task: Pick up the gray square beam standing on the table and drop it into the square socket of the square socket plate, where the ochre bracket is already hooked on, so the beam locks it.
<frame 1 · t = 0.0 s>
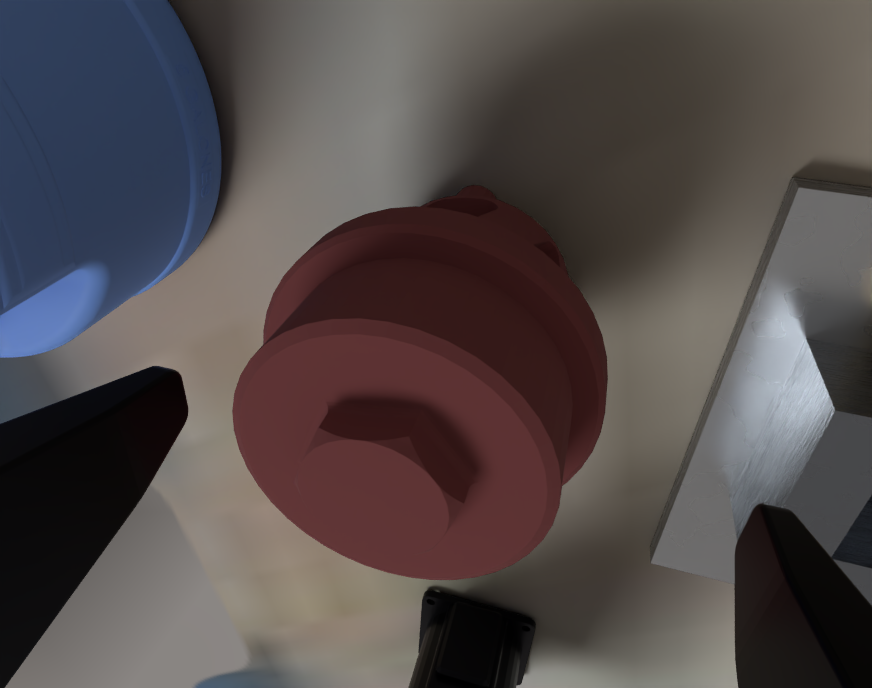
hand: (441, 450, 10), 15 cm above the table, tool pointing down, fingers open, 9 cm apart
water jug: (61, 103, 26), on the table
mechanical component: (482, 265, 24), on the table
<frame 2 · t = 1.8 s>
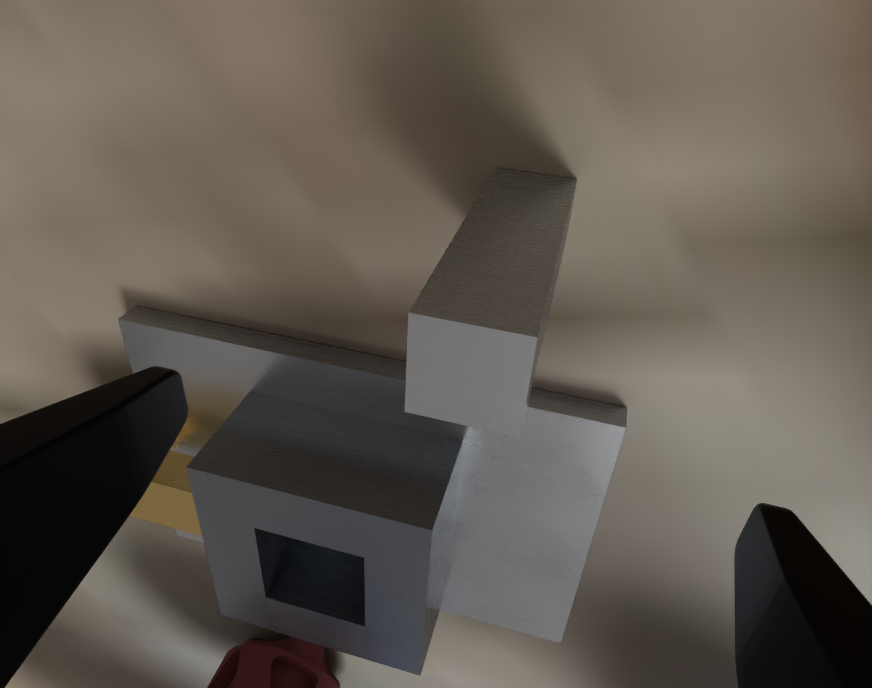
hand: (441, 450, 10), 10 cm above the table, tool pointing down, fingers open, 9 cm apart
mechanical component: (299, 652, 35), on the table
gray square beam: (529, 211, 17), on the table
square socket plate: (364, 474, 25), on the table
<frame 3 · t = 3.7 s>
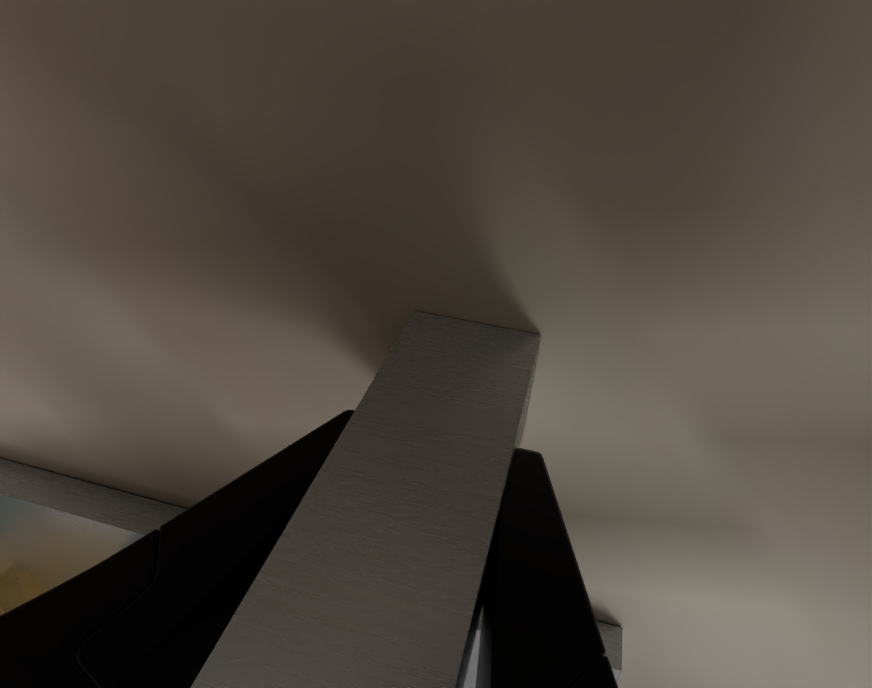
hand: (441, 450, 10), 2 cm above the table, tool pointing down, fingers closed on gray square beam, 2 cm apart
gray square beam: (470, 374, 11), on the table, touching gripper
square socket plate: (274, 658, 19), on the table
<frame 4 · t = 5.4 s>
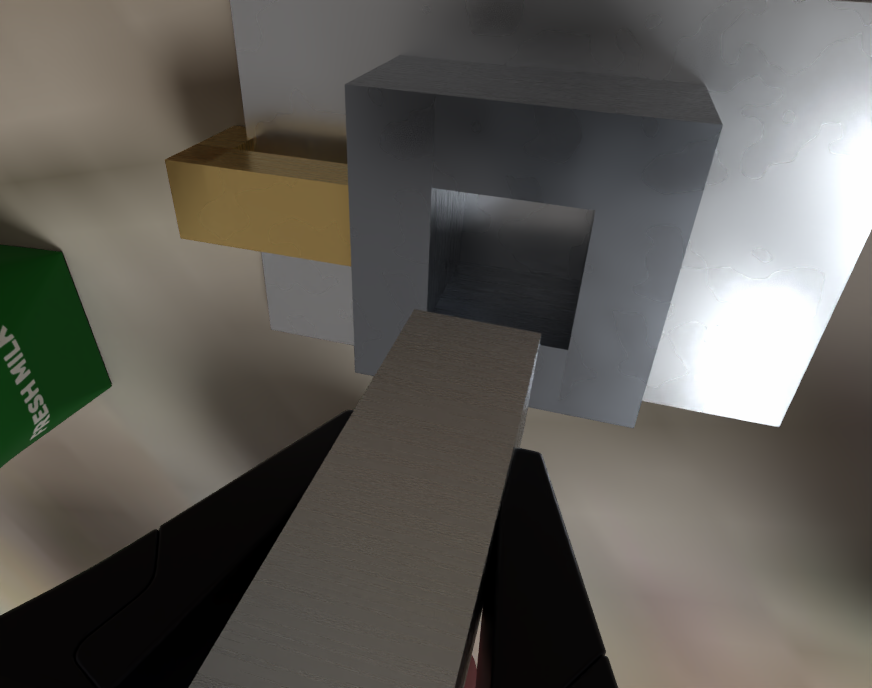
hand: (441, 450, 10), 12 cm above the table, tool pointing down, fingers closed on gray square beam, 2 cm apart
milk carton: (29, 311, 29), on the table
gray square beam: (470, 372, 11), point 10 cm above the table, touching gripper
square socket plate: (530, 201, 19), on the table
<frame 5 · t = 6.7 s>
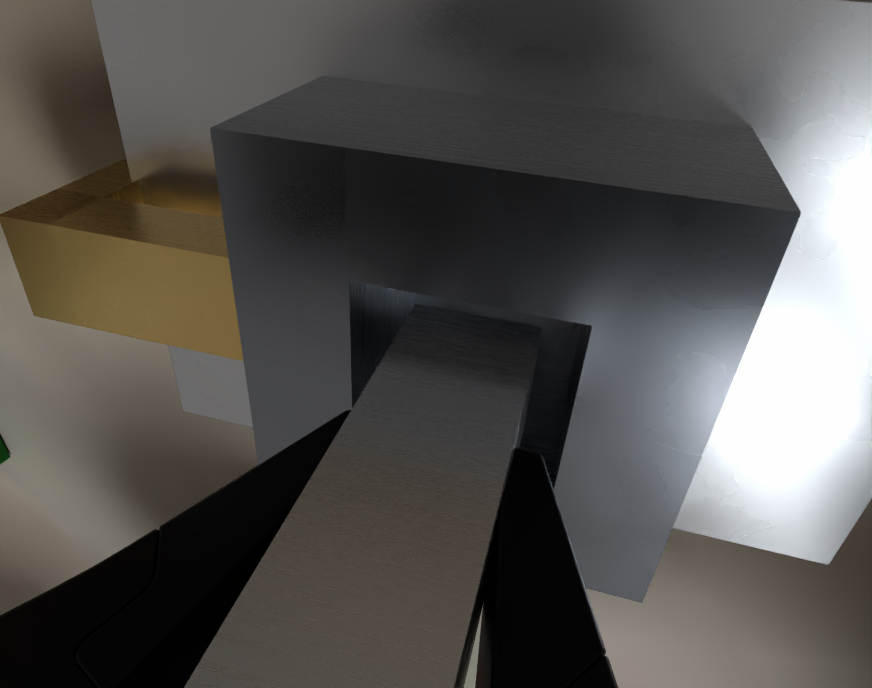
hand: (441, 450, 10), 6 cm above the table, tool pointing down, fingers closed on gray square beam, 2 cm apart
gray square beam: (472, 366, 11), point 4 cm above the table, touching gripper
square socket plate: (506, 269, 15), on the table
when the fingers open (5 cm above the table, at t = 7.5 s): gray square beam drops 2 cm, resting on square socket plate.
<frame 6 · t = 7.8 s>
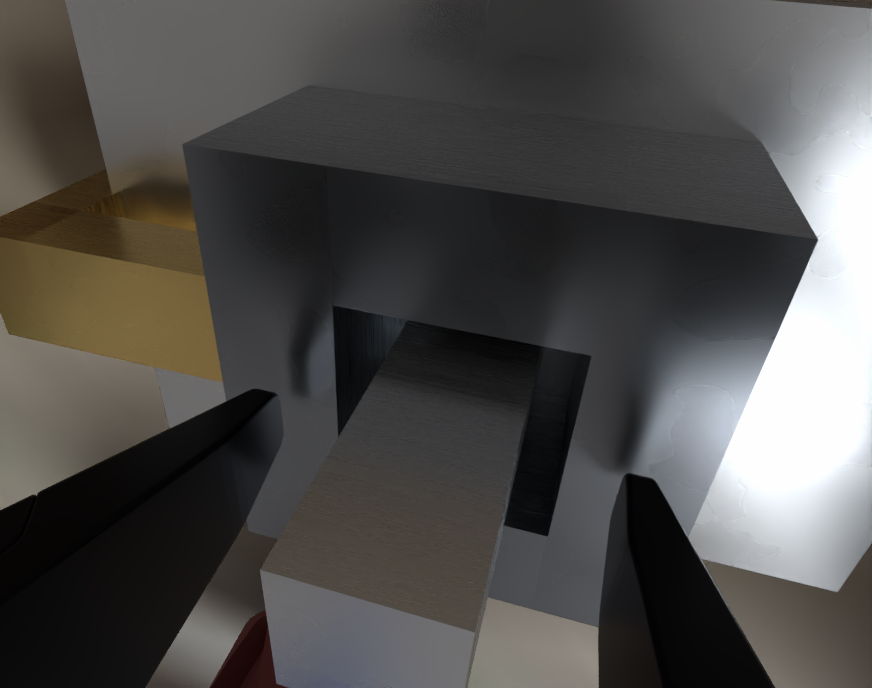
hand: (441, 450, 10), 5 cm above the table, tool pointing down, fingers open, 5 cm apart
mechanical component: (352, 624, 24), on the table
gray square beam: (499, 302, 13), point 1 cm above the table, touching square socket plate
square socket plate: (502, 286, 14), on the table
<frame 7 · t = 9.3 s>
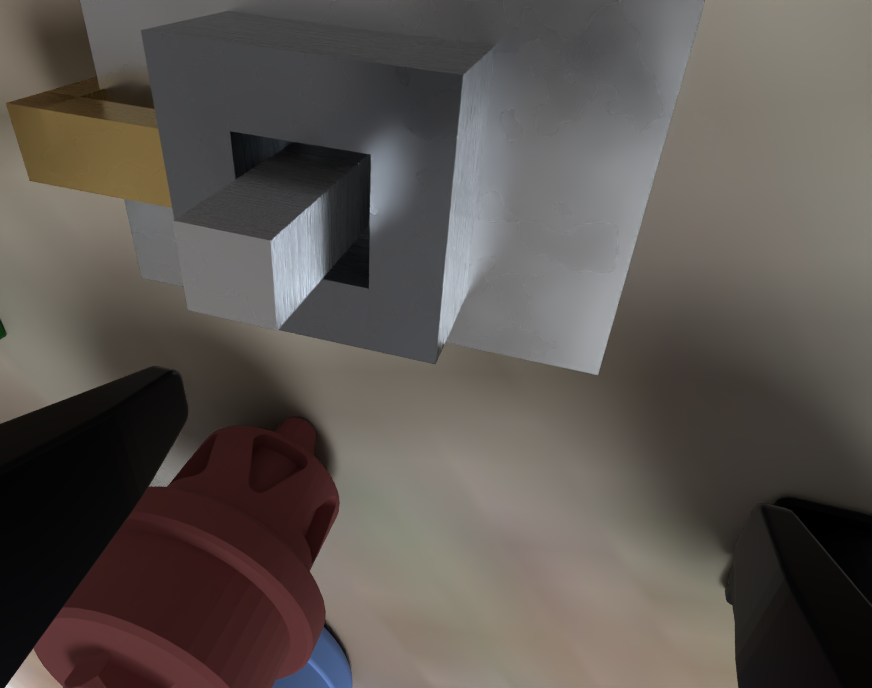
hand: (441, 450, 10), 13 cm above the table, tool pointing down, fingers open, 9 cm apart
water jug: (247, 635, 42), on the table
mechanical component: (286, 456, 30), on the table
gray square beam: (358, 162, 20), point 1 cm above the table, touching square socket plate
square socket plate: (366, 156, 21), on the table
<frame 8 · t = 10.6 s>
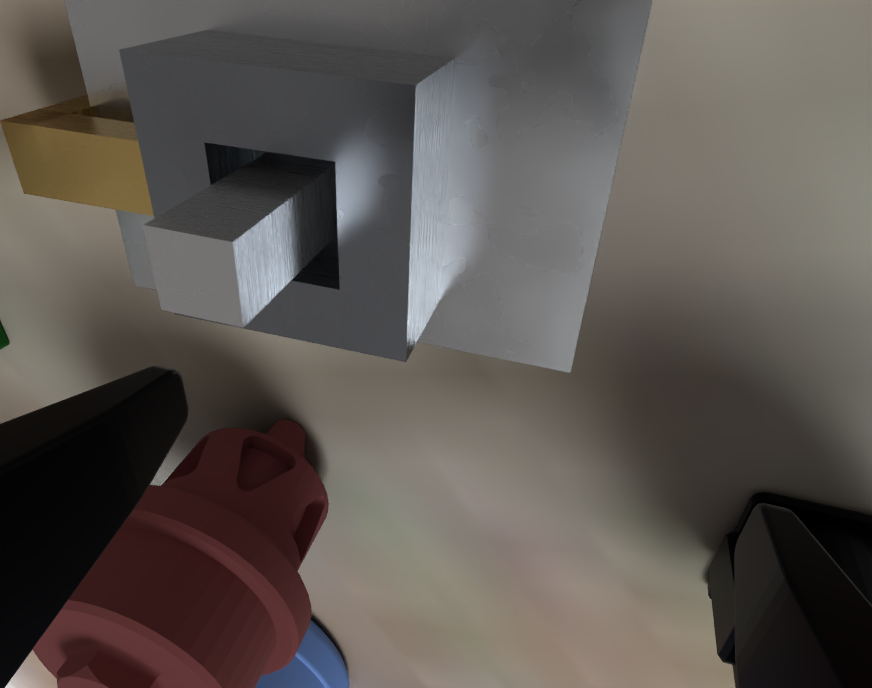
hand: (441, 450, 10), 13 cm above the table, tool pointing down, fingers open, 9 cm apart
water jug: (247, 638, 42), on the table
mechanical component: (278, 458, 31), on the table
gray square beam: (333, 170, 21), point 1 cm above the table, touching square socket plate
square socket plate: (342, 165, 22), on the table
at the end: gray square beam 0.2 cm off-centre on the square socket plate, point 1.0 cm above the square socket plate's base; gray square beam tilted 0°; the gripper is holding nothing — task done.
